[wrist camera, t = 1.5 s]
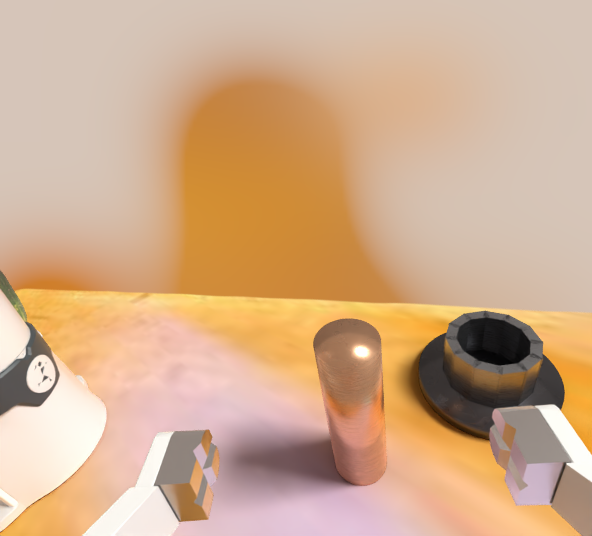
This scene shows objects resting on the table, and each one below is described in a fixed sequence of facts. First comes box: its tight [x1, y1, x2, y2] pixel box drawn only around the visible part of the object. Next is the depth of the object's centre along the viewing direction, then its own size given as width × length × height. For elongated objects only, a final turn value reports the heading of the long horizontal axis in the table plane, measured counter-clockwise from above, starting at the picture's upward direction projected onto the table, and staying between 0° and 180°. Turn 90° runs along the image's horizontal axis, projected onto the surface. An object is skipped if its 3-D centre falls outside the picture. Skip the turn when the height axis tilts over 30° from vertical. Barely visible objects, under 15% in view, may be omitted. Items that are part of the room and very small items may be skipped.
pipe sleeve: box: [419, 311, 565, 440], centre depth 40 cm, size 14×14×6 cm
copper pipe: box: [313, 319, 387, 486], centre depth 33 cm, size 5×5×16 cm
